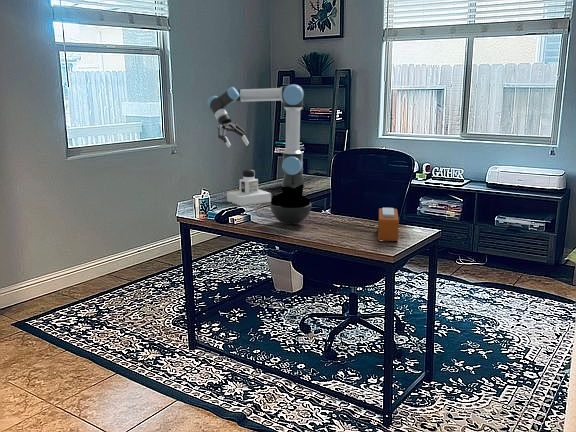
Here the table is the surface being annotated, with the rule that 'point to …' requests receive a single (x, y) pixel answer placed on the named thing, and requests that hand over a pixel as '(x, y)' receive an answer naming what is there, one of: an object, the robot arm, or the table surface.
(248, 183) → the container
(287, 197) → the bowl of black rocks
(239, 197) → the block
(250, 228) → the table surface
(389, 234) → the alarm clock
